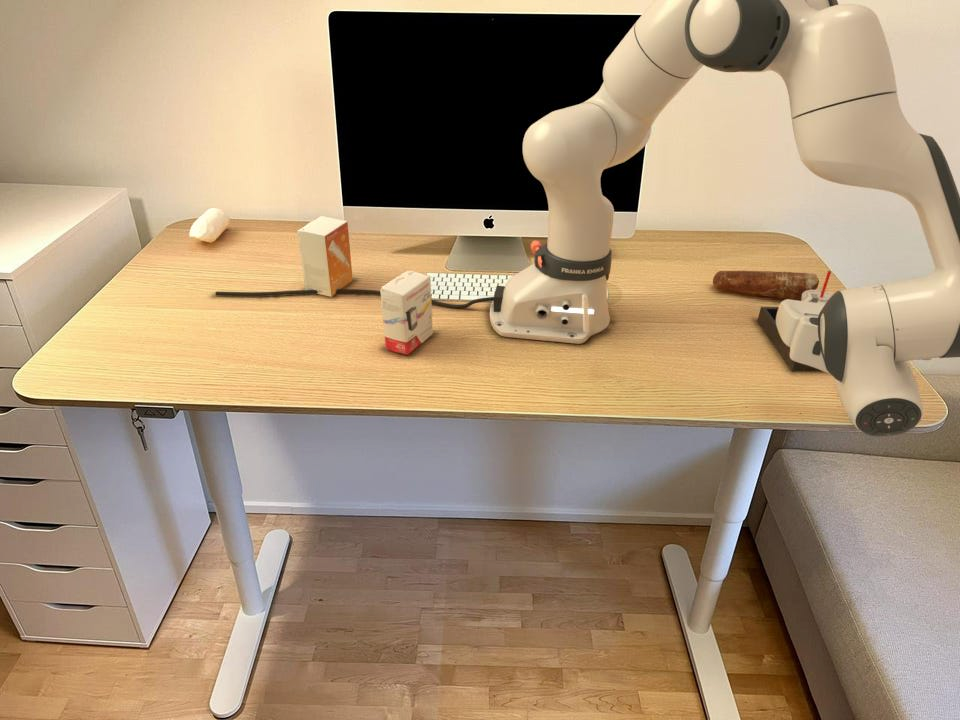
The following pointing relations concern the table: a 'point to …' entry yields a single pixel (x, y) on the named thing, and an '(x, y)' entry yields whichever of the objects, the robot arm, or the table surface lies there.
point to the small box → (325, 255)
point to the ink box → (407, 311)
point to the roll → (209, 225)
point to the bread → (766, 283)
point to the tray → (779, 338)
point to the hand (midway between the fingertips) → (842, 301)
